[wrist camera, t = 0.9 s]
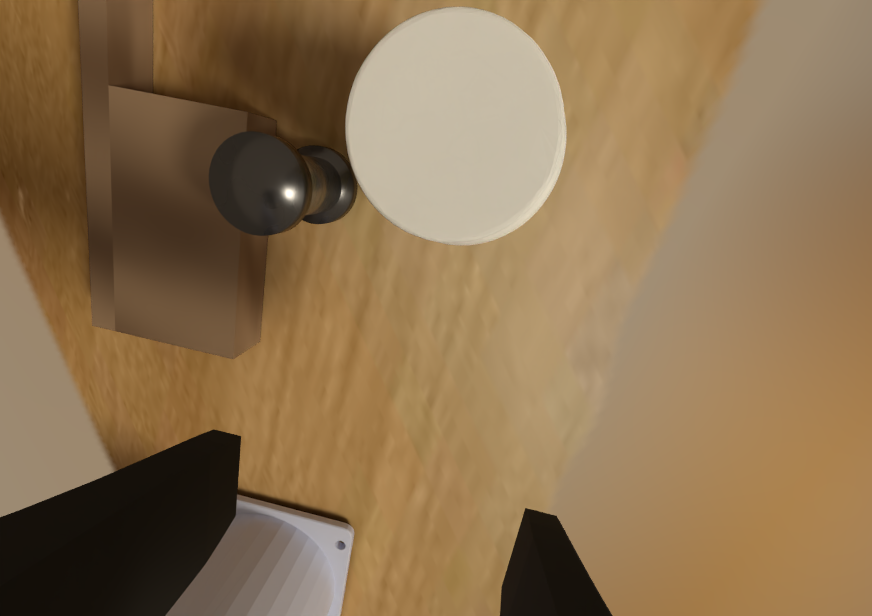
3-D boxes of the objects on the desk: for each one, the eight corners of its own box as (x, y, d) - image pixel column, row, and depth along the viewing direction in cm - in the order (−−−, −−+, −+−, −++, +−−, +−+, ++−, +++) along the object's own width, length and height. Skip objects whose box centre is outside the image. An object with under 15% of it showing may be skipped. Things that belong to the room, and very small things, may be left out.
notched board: (259, 341, 19) (233, 359, 17) (132, 312, 19) (92, 325, 17) (300, -192, 14) (268, -254, 12) (124, -216, 14) (66, -278, 12)
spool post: (352, 229, 17) (298, 244, 12) (284, 215, 17) (206, 225, 13) (362, 154, 16) (308, 141, 12) (290, 140, 16) (210, 122, 12)
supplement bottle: (383, 172, 16) (273, 157, 8) (461, 56, 15) (419, -96, 7) (484, 250, 17) (473, 311, 9) (569, 144, 15) (651, 97, 7)
